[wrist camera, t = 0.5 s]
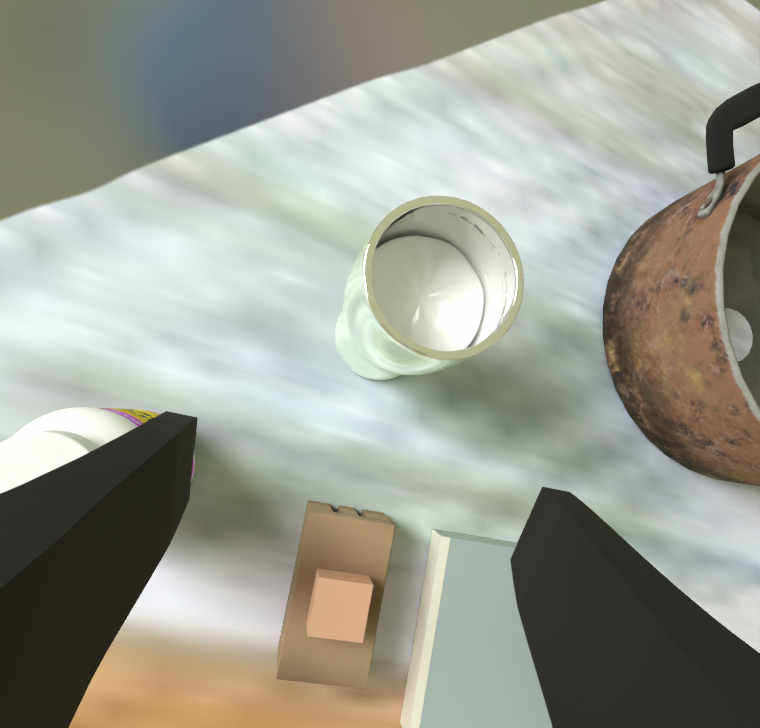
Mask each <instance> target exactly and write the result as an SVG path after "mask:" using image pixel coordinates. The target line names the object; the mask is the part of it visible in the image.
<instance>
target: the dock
mask: <svg viewBox="0 0 760 728" xmlns="http://www.w3.org/2000/svg"><path fill="white" fill-rule="evenodd" d="M516 545H517V543H514V542H508V541H502V540H496V539H490V538H484V537H477V536H471V535H465V534H459V533H453V532H447V531H441V530H435V529H433V530H432V536H431V541H430V547H429V553H428V559H427V565H426V571H425V577H424V583H423V589H422V595H421V601H420V607H419V612H418V618H417V624H416V630H415V636H414V642H413V648H412V654H411V660H410V666H409V672H408V678H407V684H406V689H405V695H404V701H403V707H402V713H401V719H400V723H401V726H402V728H552V724H551V720H550V717H549V713H548V710H547V707H546V703H545V700H544V697H543V693H542V690H541V686H540V683H539V680H538V676H537V673H536V670H535V666H534V663H533V659H532V656H531V653H530V649H529V646H528V643H527V639H526V636H525V632H524V629H523V625H522V622H521V618H520V614H519V611H518V607H517V602H516V596H515V590H514V584H513V576H512V569H511V562H510V559H511V556H512V554H513V552H514V550H515V547H516Z"/></svg>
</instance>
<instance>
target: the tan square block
mask: <svg viewBox="0 0 760 728" xmlns="http://www.w3.org/2000/svg"><path fill="white" fill-rule="evenodd" d="M372 590H373V583H372V581H371V579H370V577H369V576H366V575H360V574H353V573H346V572H339V571H332V570H325V569H319V568H317V571H316V577H315V582H314V587H313V592H312V597H311V602H310V607H309V612H308V617H307V622H306V628H307V636H309V637H317V638H325V639H333V640H341V641H349V642H357V643H363V639H364V633H365V628H366V622H367V617H368V612H369V606H370V601H371V595H372Z"/></svg>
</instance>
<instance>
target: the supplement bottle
mask: <svg viewBox="0 0 760 728" xmlns="http://www.w3.org/2000/svg"><path fill="white" fill-rule="evenodd" d="M158 415H160V414H159V413H156V412H152V411H146V410H133V409H111V408H92V407H75V408H67V409H62V410H58V411H54V412H51V413H48V414H46V415H43V416H41V417H39V418H37V419H35V420H34V421H32V422H30V423H29V424H27V425H26V426H24V427H23V428H22V429H21V430H19V431H18V432H17V433H16V434H15V435H14V436H13V437H12V438H9V439H7V440H5V441H3V442H2V443H0V494H1V493H3V492H5V491H8V490H10V489H12V488H15V487H17V486H19V485H22V484H24V483H26V482H28V481H30V480H33V479H35V478H37V477H39V476H41V475H43V474H45V473H47V472H50V471H52V470H54V469H56V468H58V467H60V466H62V465H65V464H67V463H69V462H71V461H73V460H75V459H77V458H79V457H81V456H83V455H85V454H87V453H89V452H91V451H93V450H95V449H97V448H99V447H100V446H102V445H104V444H106V443H108V442H110V441H112V440H114V439H116V438H118V437H119V436H121V435H123V434H125V433H127V432H129V431H130V430H132V429H134V428H136V427H138V426H140V425H141V424H143V423H145V422H147V421H149V420H151V419H152V418H154V417H156V416H158ZM194 471H195V454H194V456H193V466H192V476H191V482H192V479H193V476H194Z"/></svg>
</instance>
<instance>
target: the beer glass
mask: <svg viewBox="0 0 760 728" xmlns="http://www.w3.org/2000/svg"><path fill="white" fill-rule="evenodd" d="M523 288H524V278H523V269H522V264H521V260H520V257H519V254H518V251H517V249H516V246H515V244H514V242H513V241H512V239H511V237H510V236H509V234H508V233H507V231H506V230H505V229H504V227H503V226H502V225H501V224H500V223H499V222H498V221H497V220H496V219H495V218H494V217H493V216H492V215H490V214H489V213H488V212H486V211H485V210H483V209H482V208H480V207H479V206H477V205H475V204H473V203H470V202H468V201H465V200H462V199H459V198H454V197H449V196H428V197H422V198H418V199H414V200H412V201H409V202H407V203H405V204H403V205H401V206H399V207H397V208H396V209H394V210H393V211H392V212H390V213H389V214H388V215H387V216H386V217H385V218H384V219H383V220H382V221H381V222H380V223H379V225H378V226H377V227H376V229H375V230H374V232H373V234H372V235H371V237H370V239H369V240H368V241H367V243H366V244H365V246H364V247H363V248H362V250H361V251H360V253H359V255H358V257H357V258H356V260H355V262H354V264H353V266H352V268H351V271H350V273H349V276H348V280H347V283H346V286H345V291H344V298H343V310H342V311H341V313H340V315H339V317H338V319H337V322H336V326H335V343H336V347H337V350H338V353H339V355H340V357H341V359H342V360H343V362H344V363H345V364H346V365H347V366H348V367H349V368H350V369H351V370H352V371H353V372H355V373H356V374H358V375H360V376H362V377H364V378H367V379H372V380H388V379H393V378H396V377H398V376H400V375H402V374H404V375H424V374H430V373H435V372H439V371H442V370H445V369H448V368H450V367H453V366H455V365H457V364H460V363H462V362H463V361H465V360H467V359H469V358H471V357H472V356H474V355H476V354H478V353H480V352H482V351H484V350H486V349H488V348H489V347H491V346H492V345H494V344H495V343H496V342H497V341H498V340H500V339H501V338H502V337H503V335H504V334H505V333H506V332H507V331H508V329H509V328H510V327H511V325H512V323H513V322H514V320H515V318H516V316H517V314H518V311H519V308H520V305H521V301H522V296H523Z"/></svg>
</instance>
